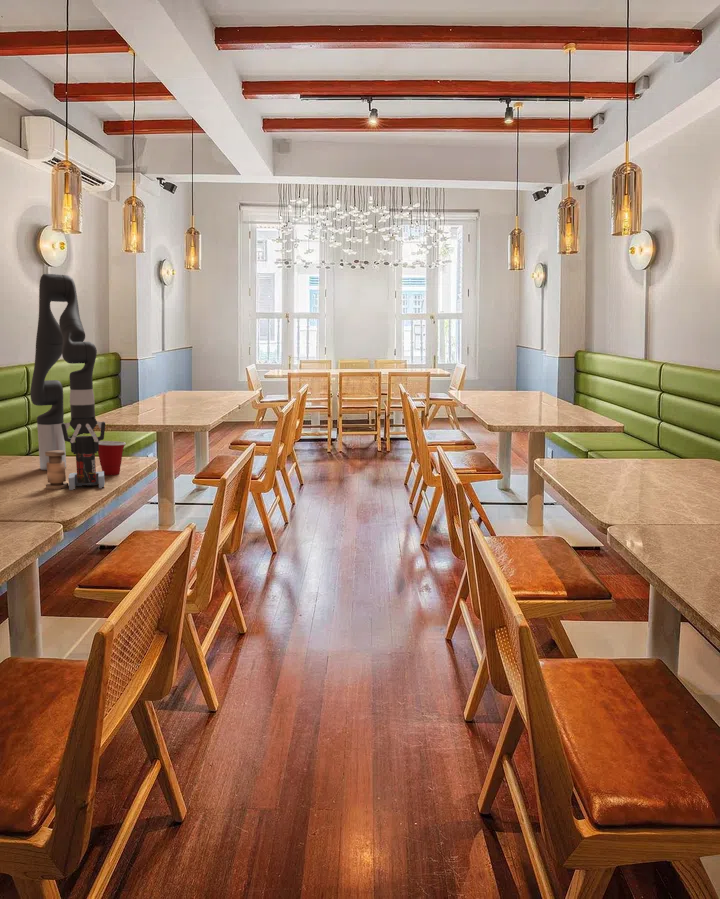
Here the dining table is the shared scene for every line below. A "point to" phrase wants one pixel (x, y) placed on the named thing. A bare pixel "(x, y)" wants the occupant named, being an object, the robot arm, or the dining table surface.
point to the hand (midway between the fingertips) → (85, 453)
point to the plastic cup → (110, 456)
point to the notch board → (74, 483)
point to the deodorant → (85, 459)
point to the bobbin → (56, 470)
